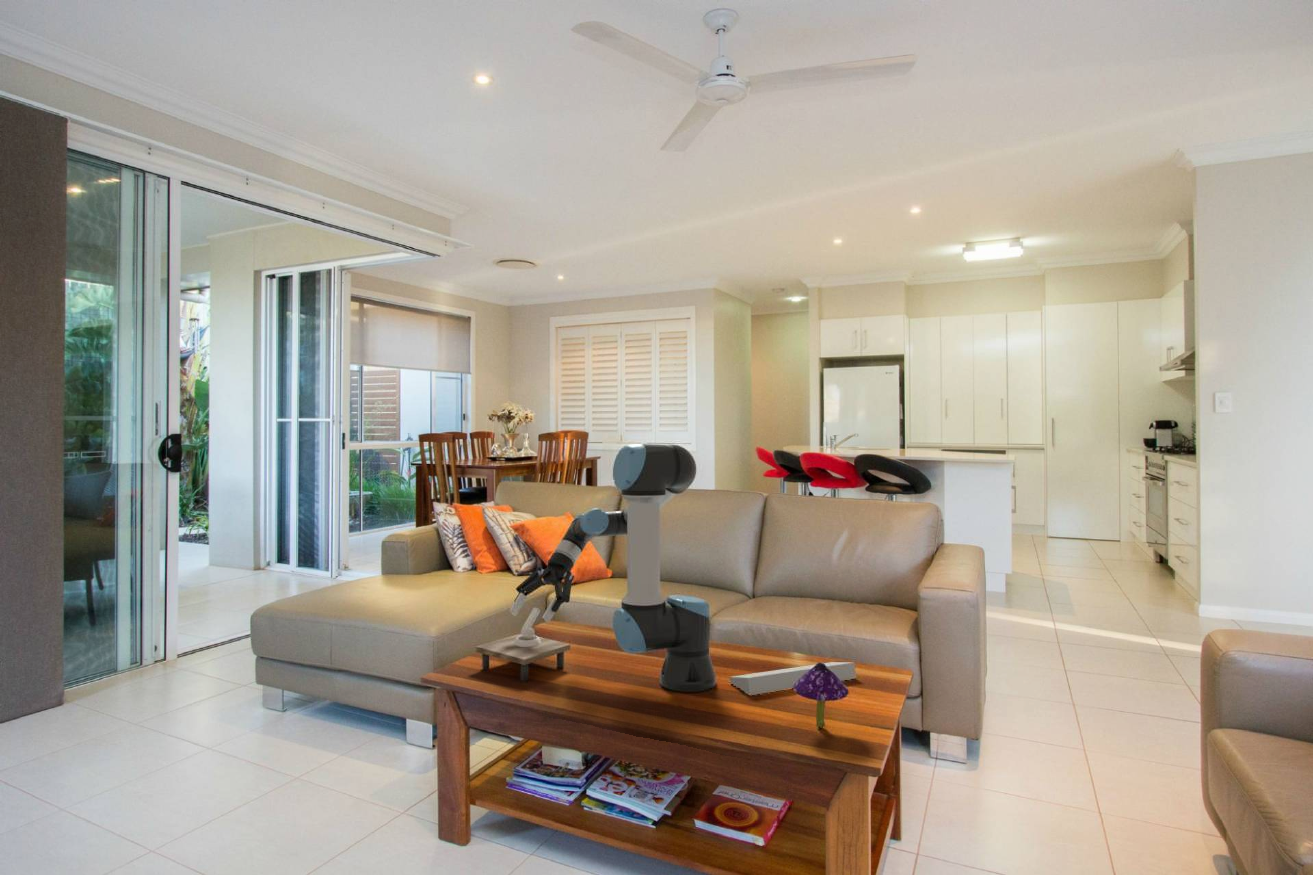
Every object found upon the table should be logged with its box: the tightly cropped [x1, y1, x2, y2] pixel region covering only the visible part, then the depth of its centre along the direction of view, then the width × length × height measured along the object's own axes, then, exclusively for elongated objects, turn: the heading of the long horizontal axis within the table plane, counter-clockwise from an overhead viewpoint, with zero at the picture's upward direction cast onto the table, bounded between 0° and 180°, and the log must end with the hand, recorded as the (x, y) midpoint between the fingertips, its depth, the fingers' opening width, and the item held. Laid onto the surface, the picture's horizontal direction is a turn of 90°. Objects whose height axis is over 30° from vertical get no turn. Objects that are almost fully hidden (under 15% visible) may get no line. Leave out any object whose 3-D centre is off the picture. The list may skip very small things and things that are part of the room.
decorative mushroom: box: [793, 661, 850, 729], centre depth 159 cm, size 12×12×15 cm
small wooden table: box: [475, 633, 571, 682], centre depth 200 cm, size 20×18×6 cm
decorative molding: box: [729, 661, 857, 696], centre depth 190 cm, size 34×5×10 cm
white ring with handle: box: [514, 606, 541, 647], centre depth 204 cm, size 8×12×7 cm
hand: (528, 617), depth 202 cm, fingers open, 13 cm apart
